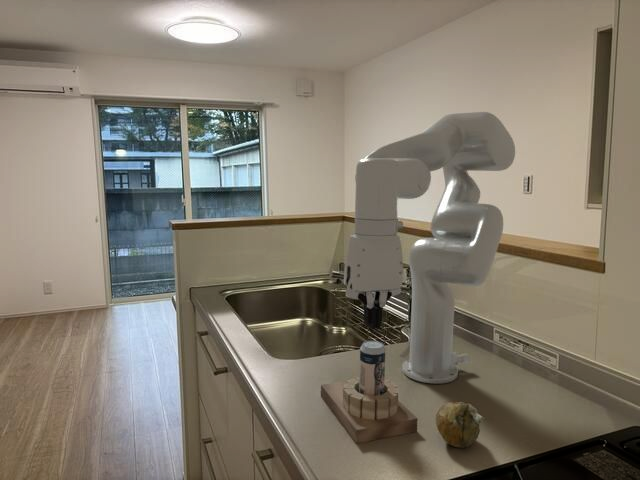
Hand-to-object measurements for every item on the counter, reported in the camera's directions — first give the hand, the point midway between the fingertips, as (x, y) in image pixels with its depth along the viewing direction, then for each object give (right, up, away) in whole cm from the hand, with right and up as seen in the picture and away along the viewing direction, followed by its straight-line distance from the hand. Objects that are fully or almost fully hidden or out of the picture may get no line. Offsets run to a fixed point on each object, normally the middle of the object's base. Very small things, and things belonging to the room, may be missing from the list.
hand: (372, 326), depth 87 cm
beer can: (0, -16, +3) cm, 16 cm away
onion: (+14, -19, -5) cm, 24 cm away
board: (-1, -18, +5) cm, 18 cm away
